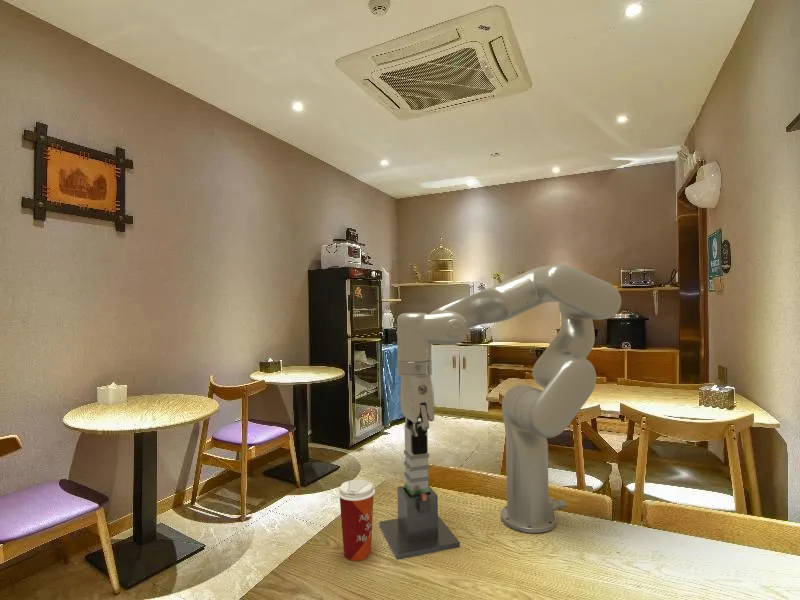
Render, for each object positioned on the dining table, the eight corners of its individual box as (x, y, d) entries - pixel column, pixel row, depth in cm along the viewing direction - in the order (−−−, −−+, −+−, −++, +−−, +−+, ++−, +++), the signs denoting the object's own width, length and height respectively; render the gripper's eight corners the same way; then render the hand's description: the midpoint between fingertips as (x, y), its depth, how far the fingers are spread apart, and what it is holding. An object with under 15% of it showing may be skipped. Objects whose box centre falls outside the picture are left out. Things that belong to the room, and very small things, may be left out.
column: (423, 501, 100) (421, 423, 100) (430, 510, 96) (428, 428, 96) (404, 504, 99) (403, 425, 99) (411, 513, 95) (409, 430, 95)
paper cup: (370, 566, 87) (369, 495, 87) (333, 562, 88) (332, 492, 88) (380, 544, 94) (379, 479, 94) (346, 541, 96) (345, 477, 96)
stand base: (435, 516, 106) (434, 470, 106) (459, 546, 93) (459, 494, 93) (379, 526, 102) (378, 478, 102) (396, 559, 89) (395, 505, 89)
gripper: (445, 372, 91) (446, 461, 91) (417, 362, 107) (419, 437, 106) (410, 375, 88) (412, 465, 88) (388, 364, 104) (389, 440, 104)
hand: (416, 449), depth 97 cm, fingers closed on column, 4 cm apart
